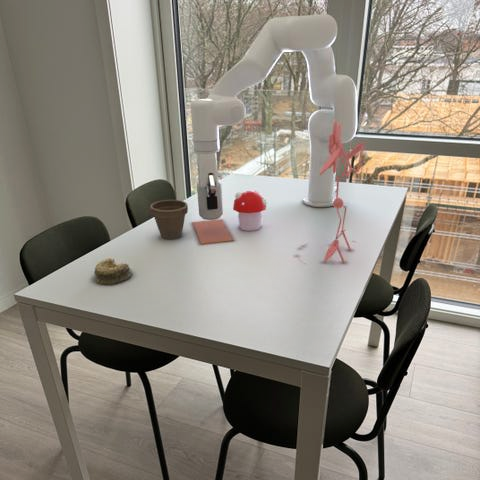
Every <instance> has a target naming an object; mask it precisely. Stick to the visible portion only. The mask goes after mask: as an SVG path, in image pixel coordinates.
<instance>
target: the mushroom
mask: <svg viewBox="0 0 480 480" xmlns="http://www.w3.org/2000/svg"><path fill="white" fill-rule="evenodd" d="M234 198H235V199H234V200H233V206H232V210H233V211H235V212H237V213H238V215H237V217H238V223H239V228H240V229H241V230H243V231H251V232H252V231H257V230H259V229H260V228H261V225H262V220H263V214H262V212H264V211H266V210H267V204H268V201H267V199H265V198H264V197H263V196H262V195H261V194H260V193H259V191H258V190H245V191H244V192H236V193H235V195H234Z"/></svg>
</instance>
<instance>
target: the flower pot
mask: <svg viewBox="0 0 480 480" xmlns="http://www.w3.org/2000/svg"><path fill="white" fill-rule="evenodd" d="M188 207H189V206H188V203H187V202H185V201H183V200H179V199H164V200H158V201H155V202H152V203H151V204H150V206H149V208H150V214H151V216H152V217H154V220H155V223H156V226H157V229H158V231H159V234H160V236H161V238H163V239H166V240H175V239H178V238H181V236H182V234H183V230H184V226H185V219H186V215H187V214H188V211H189V210H188V209H189V208H188Z"/></svg>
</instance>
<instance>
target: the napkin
mask: <svg viewBox="0 0 480 480" xmlns="http://www.w3.org/2000/svg"><path fill="white" fill-rule="evenodd" d="M192 225H193V228H194V230H195V233H196V235H197V238H198V240H199V243H200V245H210V244H218V243H228V242H234V239H233V237H232V235H231V234H230V232H229V230H228V228H227V226H226V225H225V223H224V220H223V219H220V218H219V219H215V220H202V221H192Z"/></svg>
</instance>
